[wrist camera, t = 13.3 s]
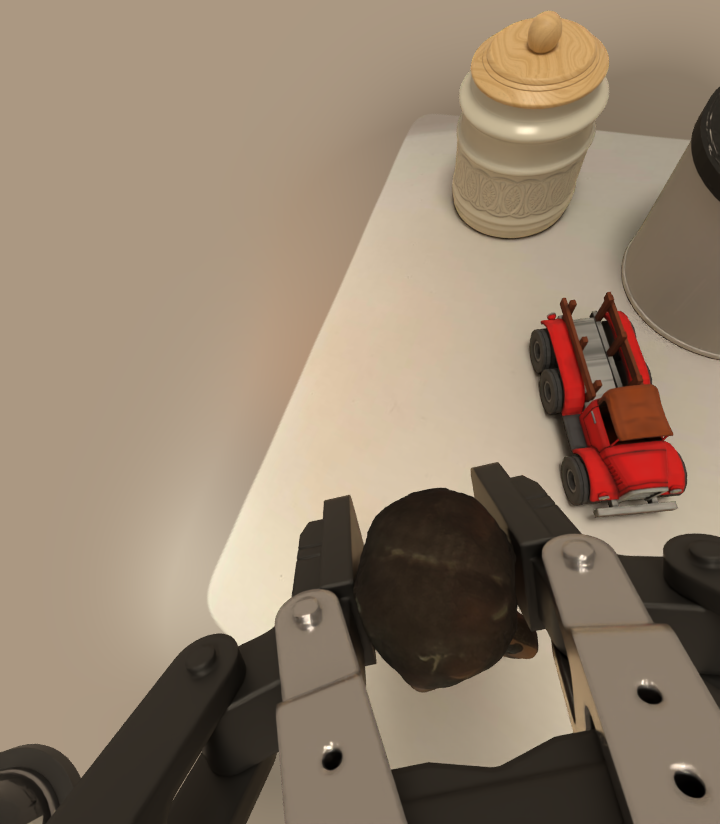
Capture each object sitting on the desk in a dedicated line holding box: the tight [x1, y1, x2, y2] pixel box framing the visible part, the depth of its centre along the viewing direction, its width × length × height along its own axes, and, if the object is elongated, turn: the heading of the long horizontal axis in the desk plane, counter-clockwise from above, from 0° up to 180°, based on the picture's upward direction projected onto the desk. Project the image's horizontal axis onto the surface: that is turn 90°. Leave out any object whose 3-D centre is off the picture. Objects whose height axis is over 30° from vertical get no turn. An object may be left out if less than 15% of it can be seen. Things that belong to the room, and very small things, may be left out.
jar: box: [452, 11, 609, 238], centre depth 44 cm, size 13×13×18 cm
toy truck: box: [530, 292, 687, 518], centre depth 37 cm, size 8×18×8 cm, turn 4°
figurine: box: [353, 488, 538, 692], centre depth 16 cm, size 7×5×18 cm
